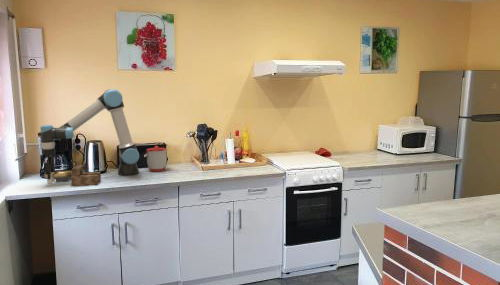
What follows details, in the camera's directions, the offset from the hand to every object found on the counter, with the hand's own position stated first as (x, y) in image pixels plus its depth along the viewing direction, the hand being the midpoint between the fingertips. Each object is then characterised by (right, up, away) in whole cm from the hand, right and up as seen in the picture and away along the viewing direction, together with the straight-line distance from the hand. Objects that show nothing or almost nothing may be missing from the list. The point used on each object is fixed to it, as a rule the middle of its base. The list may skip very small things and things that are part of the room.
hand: (51, 182), depth 247 cm
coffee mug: (-5, +3, +34) cm, 34 cm away
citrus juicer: (+59, +5, +44) cm, 74 cm away
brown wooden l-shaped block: (+22, -1, +4) cm, 22 cm away
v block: (+2, 0, +13) cm, 13 cm away
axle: (+5, +5, 0) cm, 7 cm away
